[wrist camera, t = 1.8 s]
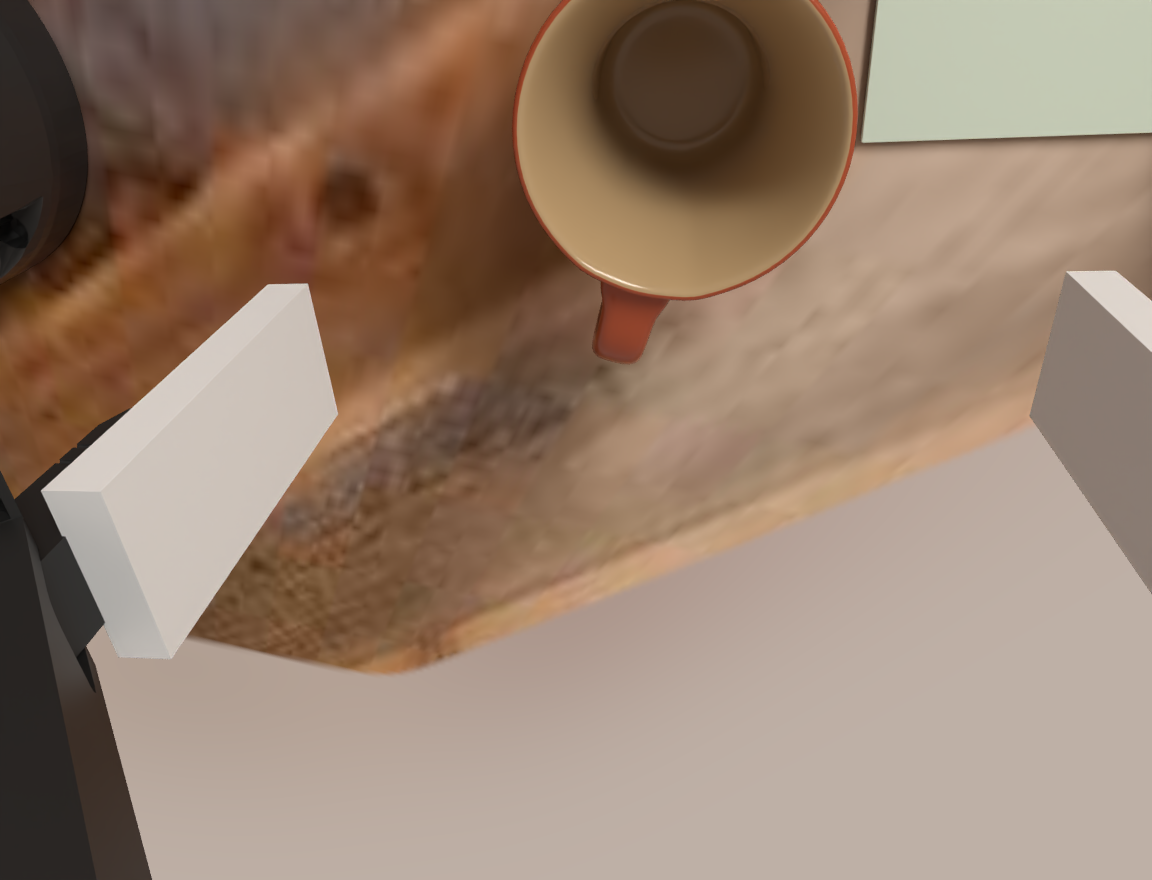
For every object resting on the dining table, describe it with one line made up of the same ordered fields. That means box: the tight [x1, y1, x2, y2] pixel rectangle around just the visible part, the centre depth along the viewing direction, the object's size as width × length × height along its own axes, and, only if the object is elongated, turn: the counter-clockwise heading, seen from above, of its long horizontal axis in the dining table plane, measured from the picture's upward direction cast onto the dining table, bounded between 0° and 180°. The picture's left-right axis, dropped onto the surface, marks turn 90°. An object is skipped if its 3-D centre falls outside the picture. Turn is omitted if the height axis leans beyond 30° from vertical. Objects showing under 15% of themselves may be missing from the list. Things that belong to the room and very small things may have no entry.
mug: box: [512, 0, 858, 364], centre depth 27 cm, size 12×9×10 cm
